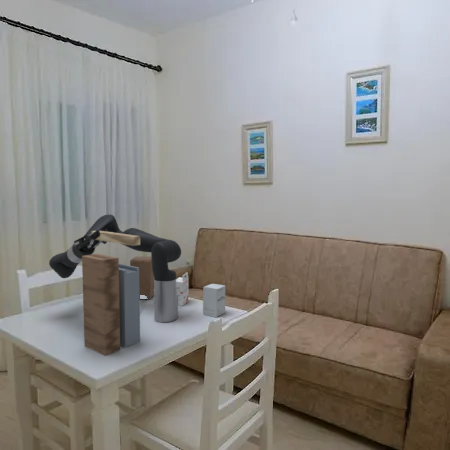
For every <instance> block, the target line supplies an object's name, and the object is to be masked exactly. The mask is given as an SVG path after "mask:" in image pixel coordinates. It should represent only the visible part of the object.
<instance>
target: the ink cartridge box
mask: <svg viewBox="0 0 450 450" xmlns="http://www.w3.org/2000/svg"><path fill="white" fill-rule="evenodd" d="M181 276H182V277H181ZM181 276H180V277H177V278H176V295H177V296H178V307H179V306H180V307H181V306H182V307H184V306H185V305H186V304H187V303H188V302H189V272H188V271H186V272H185V273H184V274H182V275H181Z"/></svg>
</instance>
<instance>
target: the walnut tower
mask: <svg viewBox="0 0 450 450" xmlns="http://www.w3.org/2000/svg"><path fill="white" fill-rule="evenodd" d="M119 259H120V258H119V257H116V256H111V255H106V254H101V253H93V254H91V255H85V256H82V261H81V264H82V265H81V267H82V269H81V272H82V273H81V274H82V299H83V300H82V304H83V306H82V307H83V336H84V337H83V338H84V339H83V340H84V341H83V343H84V347H86V348H88V349H90V350H93V351H94V352H97V353H99V354H101V355H103V356H108V355H110V354H112V353H116V352H118V351H120V350H121V345H120V309H119V264H120V261H119Z"/></svg>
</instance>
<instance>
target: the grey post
mask: <svg viewBox="0 0 450 450" xmlns="http://www.w3.org/2000/svg"><path fill="white" fill-rule="evenodd" d="M140 300H141V299H140V294H139V267H134V266H130V264H123V263H119V309H120V347H123V346H124V348H127V347H130V346H133V345H135V344H138V343H140V342H141V315H140V309H141V308H140V304H141V303H140ZM137 342H138V343H137ZM132 344H133V345H132Z"/></svg>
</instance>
